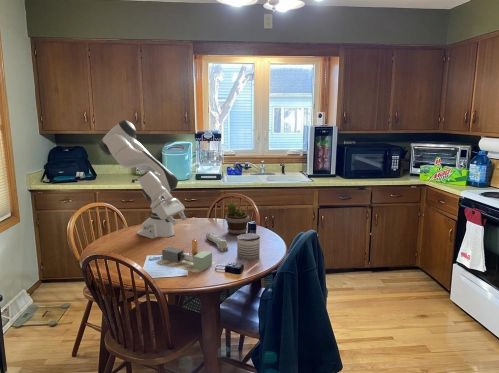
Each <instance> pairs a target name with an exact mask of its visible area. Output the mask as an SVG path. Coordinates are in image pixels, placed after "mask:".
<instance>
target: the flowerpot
mask: <svg viewBox="0 0 499 373" xmlns="http://www.w3.org/2000/svg"><path fill="white" fill-rule="evenodd" d="M226 208H227V214H226V215H225V217H224V218H225V222H226V225H227V232H228V233H229V234H230V235H234V236H239V235H241V234H246V232H247V231H248V227H247V226H248V222H249V220H250V216H249V214H248V213H247V212H246V211H244V209H243V208H242V207H240V208H237V206H236V203H234V201H231V202H229V204H228V205H227V206H226Z"/></svg>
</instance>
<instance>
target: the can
mask: <svg viewBox="0 0 499 373" xmlns="http://www.w3.org/2000/svg"><path fill="white" fill-rule="evenodd" d="M236 238H237V242H236V244H237V246H236V247H237V249H236V256H237V258H238V259H240V260H244V261H255V260H256V261H258V260H259V259H260V248H261V247H260V245H261V243H260V242H261V235H260V234H259V233H250V232H249V233H245V234H241V235H236Z"/></svg>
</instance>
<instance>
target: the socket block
mask: <svg viewBox="0 0 499 373" xmlns="http://www.w3.org/2000/svg"><path fill="white" fill-rule="evenodd" d="M212 262H213V252H210V251H206V250H202V251H200V252H197V254H196V255H194V256H193V268H194V269H198V270H202V271H204V270H206V269H207V267H208V268H209V267H211V266H212V265H213V264H212ZM202 271H201V272H202Z"/></svg>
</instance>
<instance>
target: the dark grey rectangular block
mask: <svg viewBox="0 0 499 373" xmlns="http://www.w3.org/2000/svg"><path fill="white" fill-rule="evenodd" d="M161 253H162V254H161V256H162V259H163V260H167V261H171V262H175V263H178V262H180V261H182V260H180V259H178V254H179V253H182V254H185V252H184V249H182V248H176V247H173V246H167V247H164V248H162V250H161Z"/></svg>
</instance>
